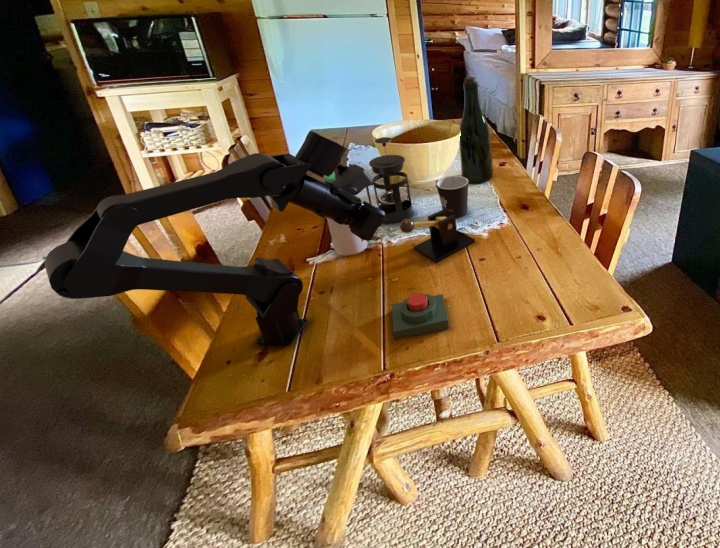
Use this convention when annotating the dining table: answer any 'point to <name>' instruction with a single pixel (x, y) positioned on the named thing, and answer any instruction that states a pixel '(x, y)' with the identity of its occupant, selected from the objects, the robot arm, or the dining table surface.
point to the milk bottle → (344, 234)
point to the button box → (419, 318)
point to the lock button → (417, 302)
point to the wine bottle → (474, 138)
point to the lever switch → (443, 239)
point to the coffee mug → (453, 195)
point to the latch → (418, 224)
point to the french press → (391, 186)
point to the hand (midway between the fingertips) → (380, 224)
